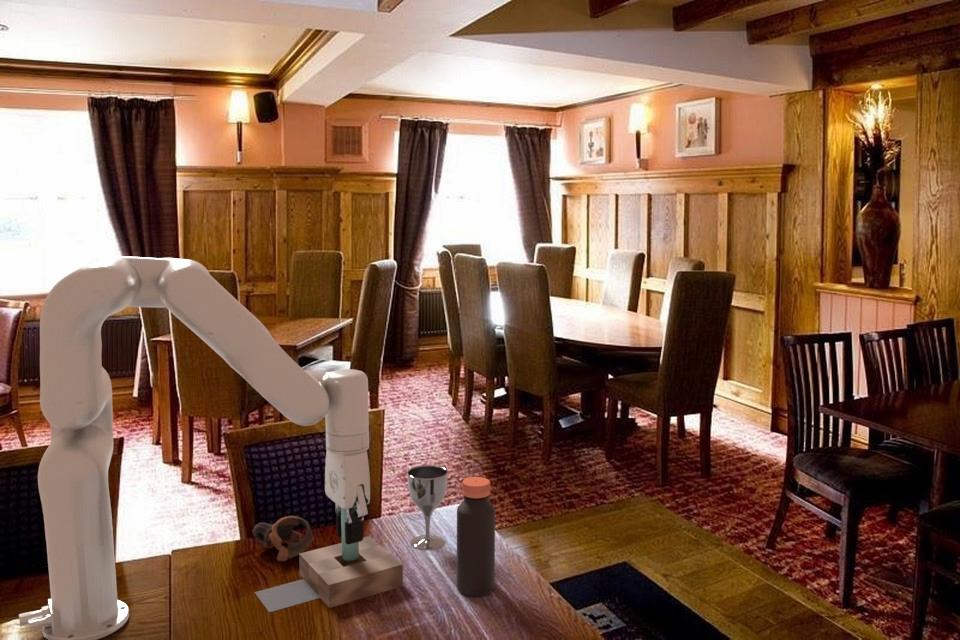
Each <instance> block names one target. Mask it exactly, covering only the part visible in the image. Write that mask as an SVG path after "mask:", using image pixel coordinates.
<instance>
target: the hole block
mask: <svg viewBox="0 0 960 640" xmlns="http://www.w3.org/2000/svg"><path fill="white" fill-rule="evenodd" d="M298 556H299V557H298V558H299V559H298V560H299V563H298V565H299V576H300V577H301V578H302V579H304V580H305V581H306V582H307V583H308V584H309V586H310V587H311V588H312V589H313V590H314V591H315V592H316V593H317V595H318V596H319V597H320V598H319V599H321V601H323V603H324V604H325V605H326V606H327V607H328V609H331V608H334V607H338V606H341V605H344V604H348V603H351V602H354V601H358V600H362V599H364V598H368V597H371V596H374V595H375V596H376V595H378V594H382V593H385V592H388V591H391V590H394V589H398V588H402V587H404V584H403V583H404V582H403V581H404V580H403V579H404V573H403V571H404V568H403V567H404V566H403V563H401V561H400V560H398V559H397V558H396V557H394V556H393V555H392V554H391V553H390V552H389V551H387V550H386V549H385V548H384V547H383V546H382V545H380V544H379V543H378V542H377V541H376V540H374V539H373V538H372V537H371V536H370V535H369V536H363V540H362V541H360V542H359V557H358V558H357V559H355V560H351V561H348V560H344V559H343V558H342V542H340V543H337V544H336V543H335V544H332V545H329V546H325V547H319V548H316V549H312V550H308V551H307V550H306V551H305V552H303V553H299V555H298Z"/></svg>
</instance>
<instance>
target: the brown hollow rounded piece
mask: <svg viewBox="0 0 960 640" xmlns="http://www.w3.org/2000/svg"><path fill="white" fill-rule="evenodd" d="M299 524H301V525H303V526H304V528H305V530H306V535H305V537H304V538H302V533H299V532H298V531H295V530H294V527H295V526H296V525H299ZM252 535H253V537H254V538H255V539H256V540H257V541H258V542H259V543H261V544H263V547H264V548H265V550H269V547H270V546H271V547H273V548H276V550H278V554H277V556H276V560H277V561H278V562H287V561H288V559H289V560H290V559H293V558H294V557H297V556H299V553H303V552H307V550H308V549H307V548H310V546H311V545H312V542H313V541H314V540H315V537H314V534H313V533H312V527H311V524H310V523H309V521H308V520H306V519H304V518H303V517H300V516H297V515H288V516H284V517H281V518H279V519H278V520H277V521H276V522H275V523H274V524H271V523H267V522H259V523H257V524H255V525H254V527H253V529H252ZM301 538H302V539H301ZM285 541H291V542H287V546H285V545H284V544H283V542H285Z"/></svg>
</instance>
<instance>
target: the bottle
mask: <svg viewBox="0 0 960 640" xmlns="http://www.w3.org/2000/svg"><path fill="white" fill-rule="evenodd" d="M461 481H462V482H461V483H462V485H461V486H462V487H461V492H462V493H461V494H462V497H463V501H462V502H461V503H459V505H458V506H457V508H456V589H457V590H458V592H459V593H461V594H463V595H464V596H469V597H484V596H486V595H489V594H491V593H492V592H493V591H494V590H495V576H496V574H495V568H496V567H495V560H496V559H495V558H496V557H495V554H496V553H495V552H496V551H495V550H496V549H495V547H496V508H495V506H494V505H493V504H492V502H490V500H489V498H490V495H491V480H490V479H488V478H486V477H482V476H471V477H467V478H465V479H463V480H461Z"/></svg>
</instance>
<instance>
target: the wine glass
mask: <svg viewBox="0 0 960 640" xmlns="http://www.w3.org/2000/svg"><path fill="white" fill-rule="evenodd" d="M407 486H408V492H409V496H410V499H411V501H412V503H414V504H415V506H417V508H418V509H419V510H420V512H421V513H422V514H423V517H424V523H425V534H423V535H422V534H421V535H417V536H416V537H413V538H412V539H411V540H410V542H409V543H410V546H411V547H412V548H413V549H416V550H422V551H433V550H434V551H435V550H437V549H440V548H442V547H444V546H445V545H444V544H446V540H445V539H444V538H443V537H441V536H440V535H436V534H431V531H430V530H431V529H430V528H431V520H432V519H431V518H432V516H433V513H434V511H435V510H437V508H438V506H439V505H440V504H441V503H442V502H443V500H444V499H445V496H446V492H447V486H448V469H446V468H445V467H443V466H440V465H435V464H423V465H415V466H413V467H411V468H409V469H408V471H407ZM443 545H444V546H443Z"/></svg>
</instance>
